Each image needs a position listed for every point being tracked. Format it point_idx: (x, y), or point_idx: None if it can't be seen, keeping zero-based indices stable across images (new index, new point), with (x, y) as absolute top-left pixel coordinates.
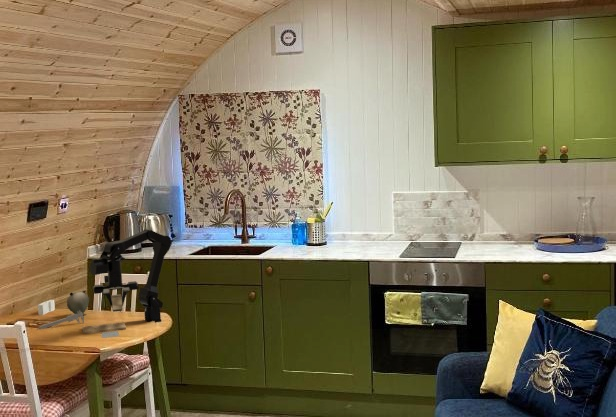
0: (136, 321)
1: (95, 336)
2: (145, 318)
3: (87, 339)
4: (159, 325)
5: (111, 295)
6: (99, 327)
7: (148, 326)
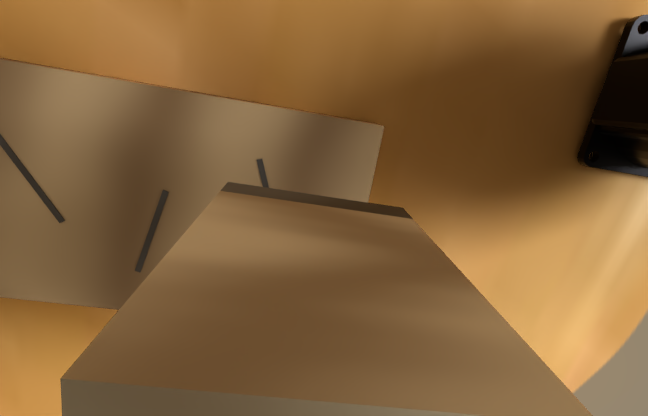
0: (533, 12)
1: (77, 355)
2: (610, 125)
3: (13, 406)
4: (605, 295)
5: (76, 408)
6: (104, 203)
7: (528, 279)
